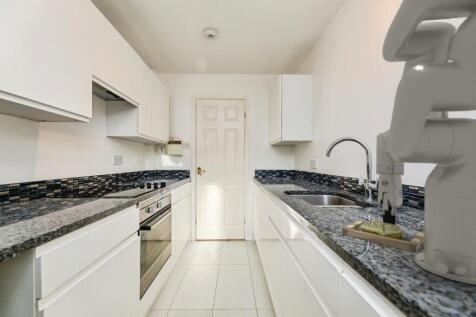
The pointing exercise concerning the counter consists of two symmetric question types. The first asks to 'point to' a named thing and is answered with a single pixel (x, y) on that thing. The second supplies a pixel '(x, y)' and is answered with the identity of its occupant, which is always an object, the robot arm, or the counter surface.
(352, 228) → the wooden bay
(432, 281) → the counter surface
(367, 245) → the counter surface
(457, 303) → the counter surface
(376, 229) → the yellow-green flat piece
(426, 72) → the robot arm
